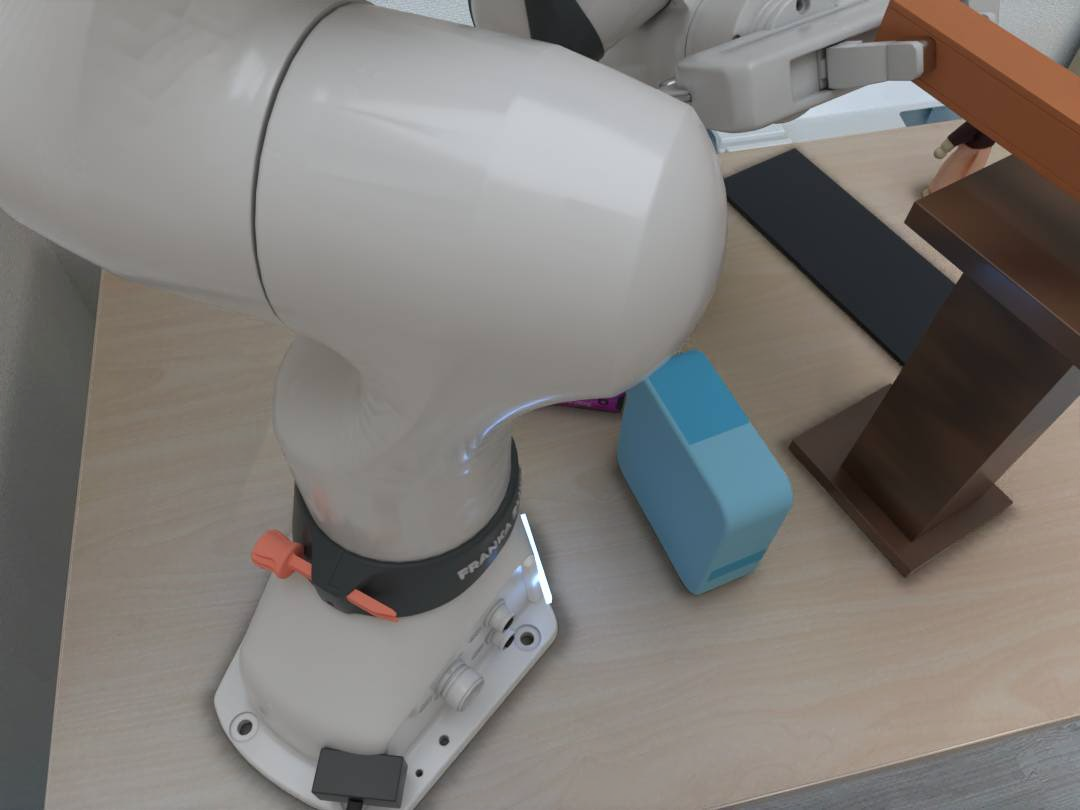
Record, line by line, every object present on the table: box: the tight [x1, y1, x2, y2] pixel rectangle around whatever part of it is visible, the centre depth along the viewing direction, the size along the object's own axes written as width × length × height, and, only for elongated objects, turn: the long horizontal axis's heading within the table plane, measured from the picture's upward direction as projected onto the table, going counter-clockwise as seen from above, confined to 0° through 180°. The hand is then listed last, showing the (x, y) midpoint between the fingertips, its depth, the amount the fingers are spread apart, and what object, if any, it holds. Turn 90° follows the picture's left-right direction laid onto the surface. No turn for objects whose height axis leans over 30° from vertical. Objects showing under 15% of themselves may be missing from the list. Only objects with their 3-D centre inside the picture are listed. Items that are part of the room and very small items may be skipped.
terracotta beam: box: [874, 0, 1080, 203], centre depth 39 cm, size 20×3×3 cm, turn 32°
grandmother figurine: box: [921, 121, 996, 198], centre depth 73 cm, size 8×4×13 cm, turn 121°
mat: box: [723, 147, 956, 368], centre depth 73 cm, size 26×10×1 cm, turn 32°
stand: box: [787, 153, 1080, 578], centre depth 51 cm, size 12×10×24 cm
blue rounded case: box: [616, 349, 794, 596], centre depth 54 cm, size 12×4×12 cm, turn 23°
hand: (958, 45), depth 42 cm, fingers closed on terracotta beam, 3 cm apart
